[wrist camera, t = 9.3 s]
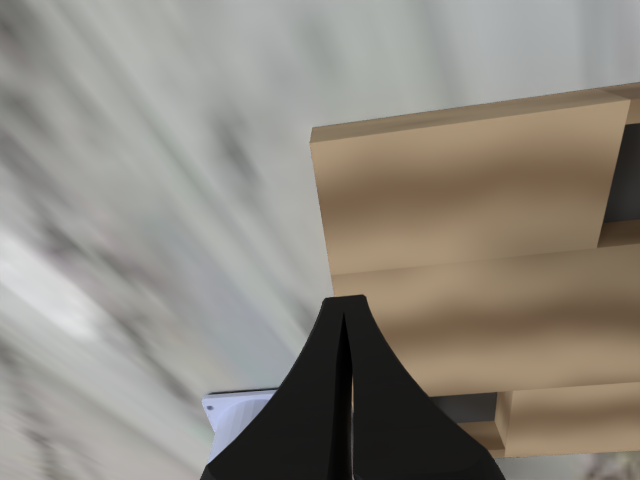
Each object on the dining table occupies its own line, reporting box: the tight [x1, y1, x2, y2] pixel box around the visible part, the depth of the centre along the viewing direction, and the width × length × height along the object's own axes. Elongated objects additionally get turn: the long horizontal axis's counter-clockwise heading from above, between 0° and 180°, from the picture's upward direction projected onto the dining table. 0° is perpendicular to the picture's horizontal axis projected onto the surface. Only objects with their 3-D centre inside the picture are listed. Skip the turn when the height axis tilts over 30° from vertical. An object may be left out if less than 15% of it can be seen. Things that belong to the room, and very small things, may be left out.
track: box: [310, 82, 640, 458], centre depth 22 cm, size 24×30×4 cm
